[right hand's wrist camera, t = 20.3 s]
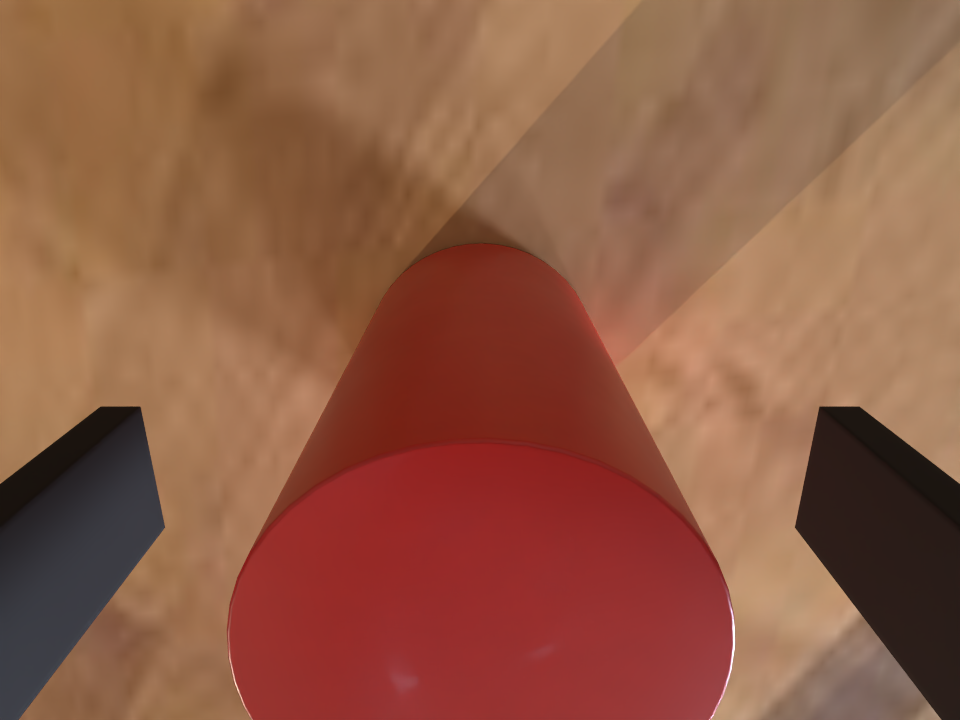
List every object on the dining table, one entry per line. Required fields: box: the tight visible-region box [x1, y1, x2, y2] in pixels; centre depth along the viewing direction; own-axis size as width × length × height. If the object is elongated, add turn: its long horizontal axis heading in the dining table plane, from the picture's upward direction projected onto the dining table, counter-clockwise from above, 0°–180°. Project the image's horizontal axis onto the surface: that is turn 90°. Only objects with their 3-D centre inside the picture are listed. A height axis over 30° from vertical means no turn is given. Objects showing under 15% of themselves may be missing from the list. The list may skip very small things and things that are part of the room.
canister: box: [227, 243, 735, 720], centre depth 13 cm, size 6×6×11 cm
